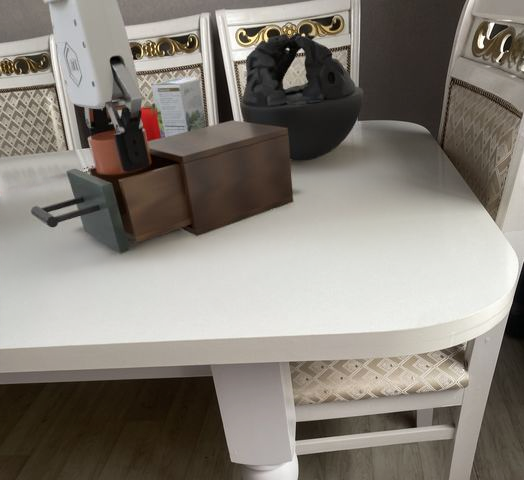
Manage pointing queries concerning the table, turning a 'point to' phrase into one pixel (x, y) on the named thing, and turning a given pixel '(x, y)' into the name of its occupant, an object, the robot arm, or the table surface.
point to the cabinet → (230, 171)
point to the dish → (109, 153)
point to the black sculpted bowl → (301, 95)
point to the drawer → (125, 203)
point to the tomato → (150, 122)
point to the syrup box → (178, 105)
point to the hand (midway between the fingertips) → (123, 163)
